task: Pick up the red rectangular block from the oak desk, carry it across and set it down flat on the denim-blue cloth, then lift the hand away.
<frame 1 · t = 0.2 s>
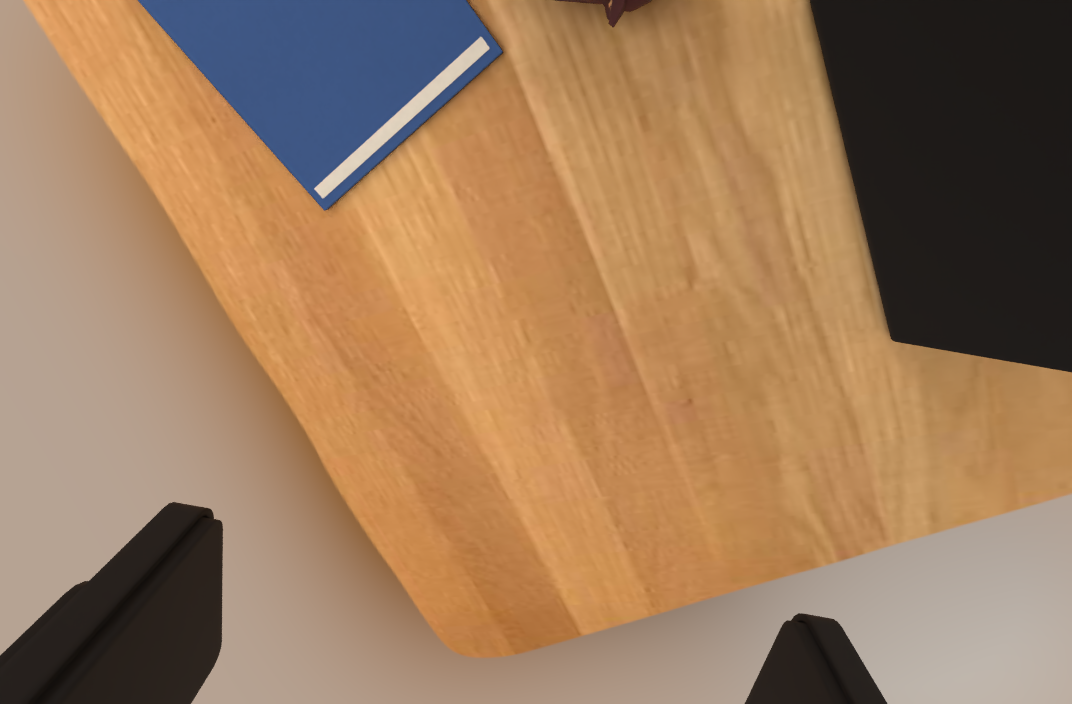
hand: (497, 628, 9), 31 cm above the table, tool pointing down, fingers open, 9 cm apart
device stand: (1031, 104, 35), on the table
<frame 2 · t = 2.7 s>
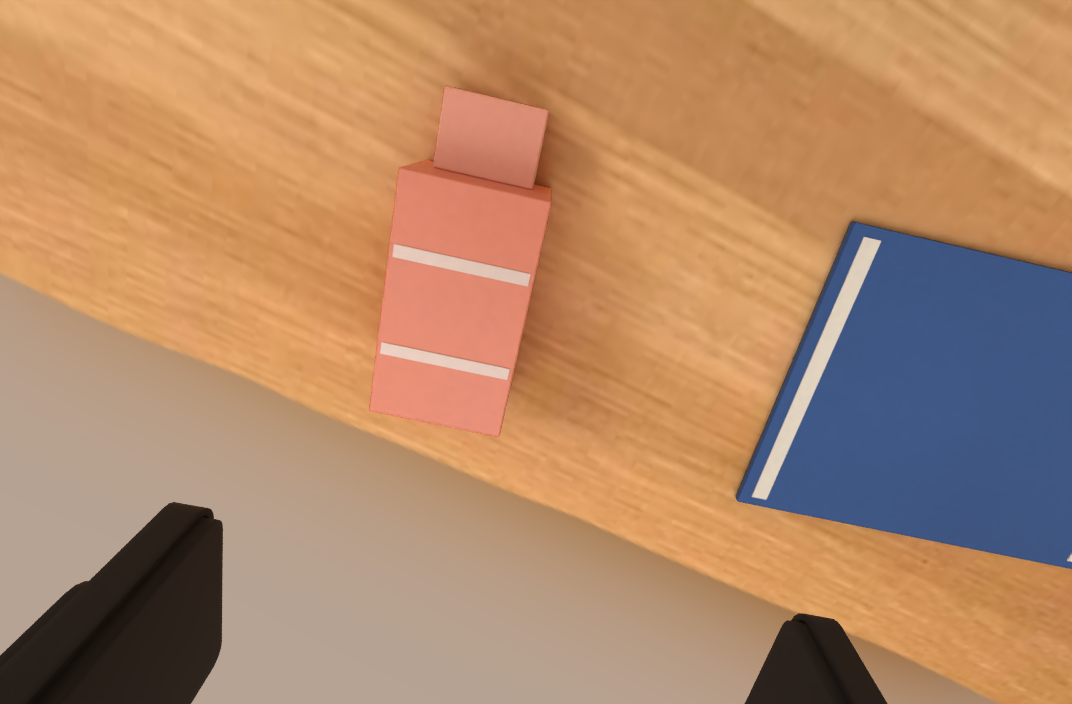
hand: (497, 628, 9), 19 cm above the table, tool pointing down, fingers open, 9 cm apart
red rectangular block: (469, 282, 27), on the table
cloth: (977, 413, 29), on the table
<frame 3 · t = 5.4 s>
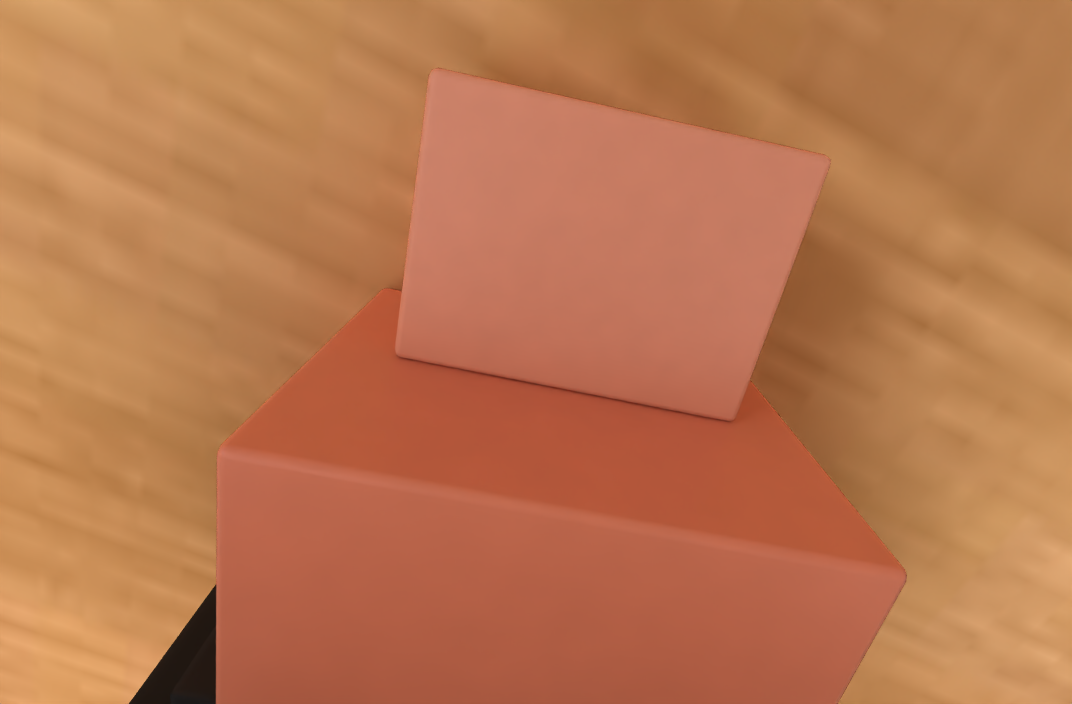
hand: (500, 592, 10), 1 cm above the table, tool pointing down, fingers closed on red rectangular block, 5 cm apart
red rectangular block: (503, 570, 11), on the table, touching gripper
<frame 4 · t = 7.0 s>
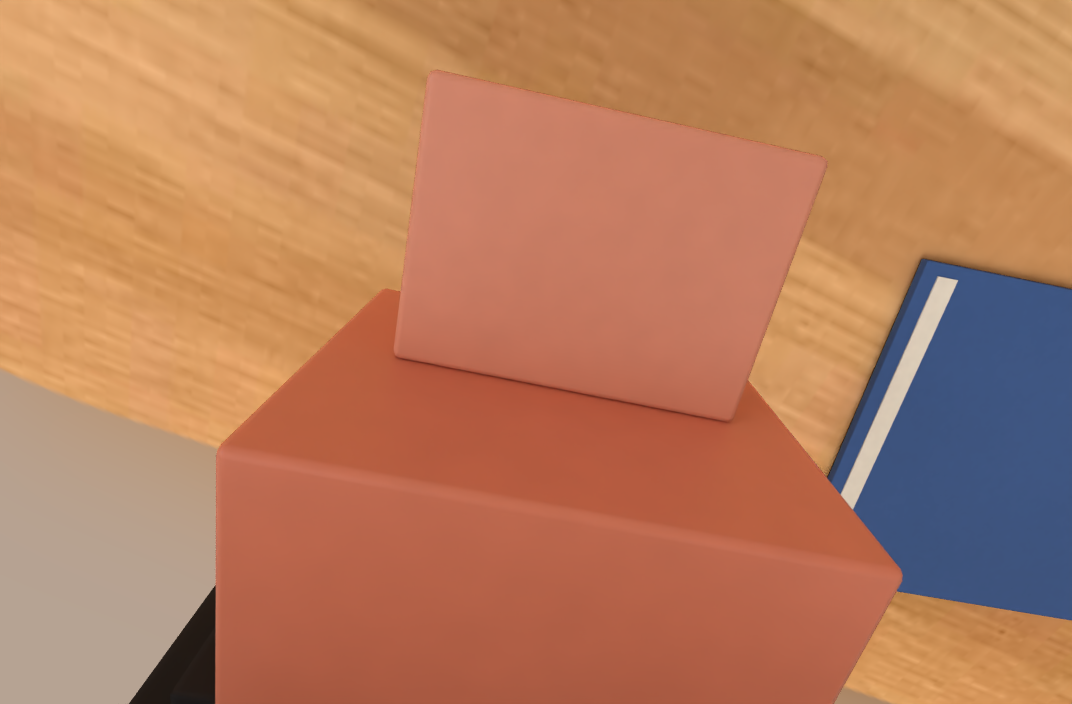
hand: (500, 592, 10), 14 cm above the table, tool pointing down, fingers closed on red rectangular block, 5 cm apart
red rectangular block: (502, 570, 11), point 13 cm above the table, touching gripper
cloth: (1064, 469, 25), on the table
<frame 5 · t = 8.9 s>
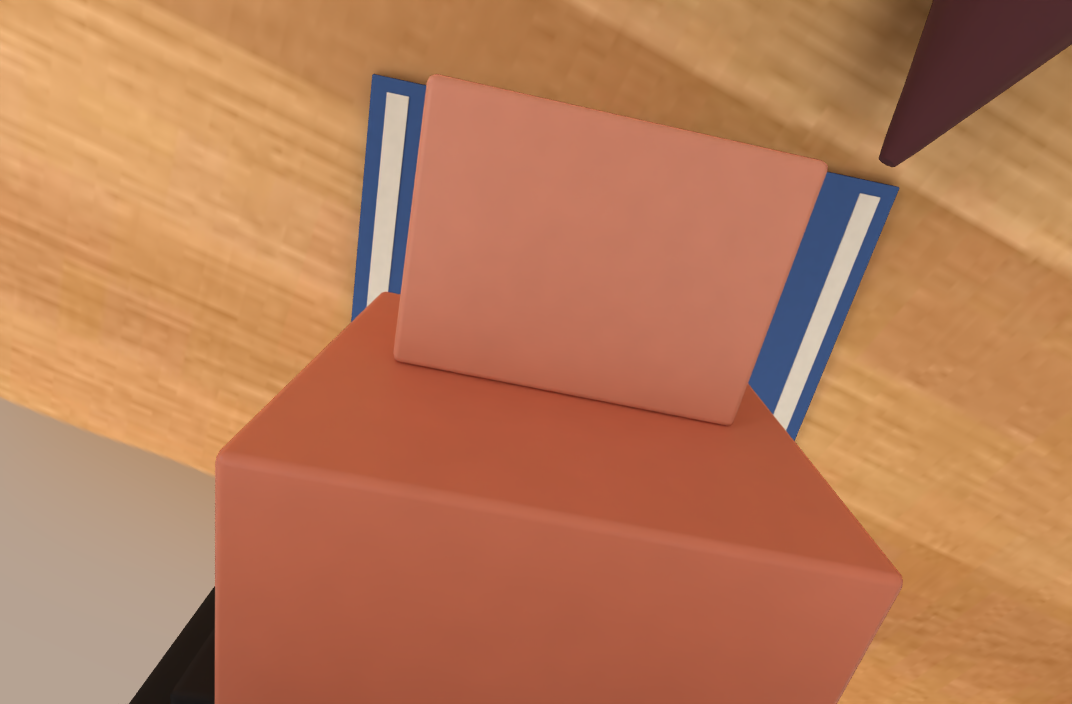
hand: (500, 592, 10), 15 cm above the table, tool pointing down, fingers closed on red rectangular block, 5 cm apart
red rectangular block: (502, 573, 11), point 15 cm above the table, touching gripper
cloth: (594, 319, 24), on the table
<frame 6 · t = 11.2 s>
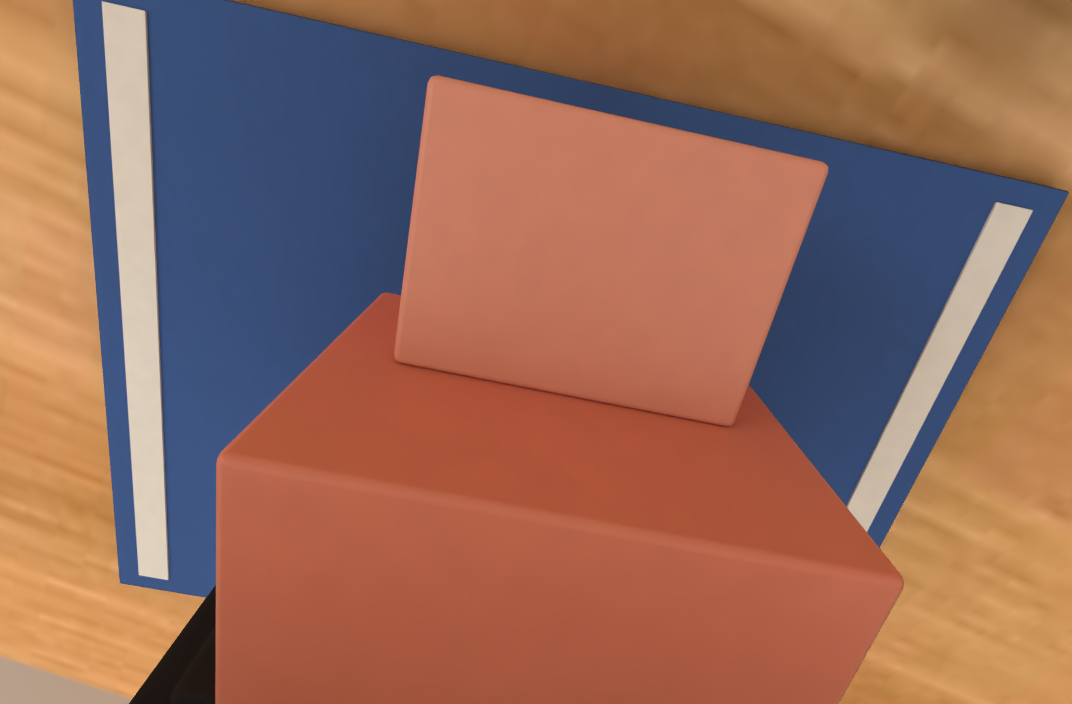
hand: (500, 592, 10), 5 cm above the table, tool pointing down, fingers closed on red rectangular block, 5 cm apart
red rectangular block: (502, 573, 11), point 4 cm above the table, touching gripper
cloth: (522, 410, 14), on the table
when the fingers open (1 cm above the table, at t = 12.7 s): red rectangular block stays where it is, resting on cloth.
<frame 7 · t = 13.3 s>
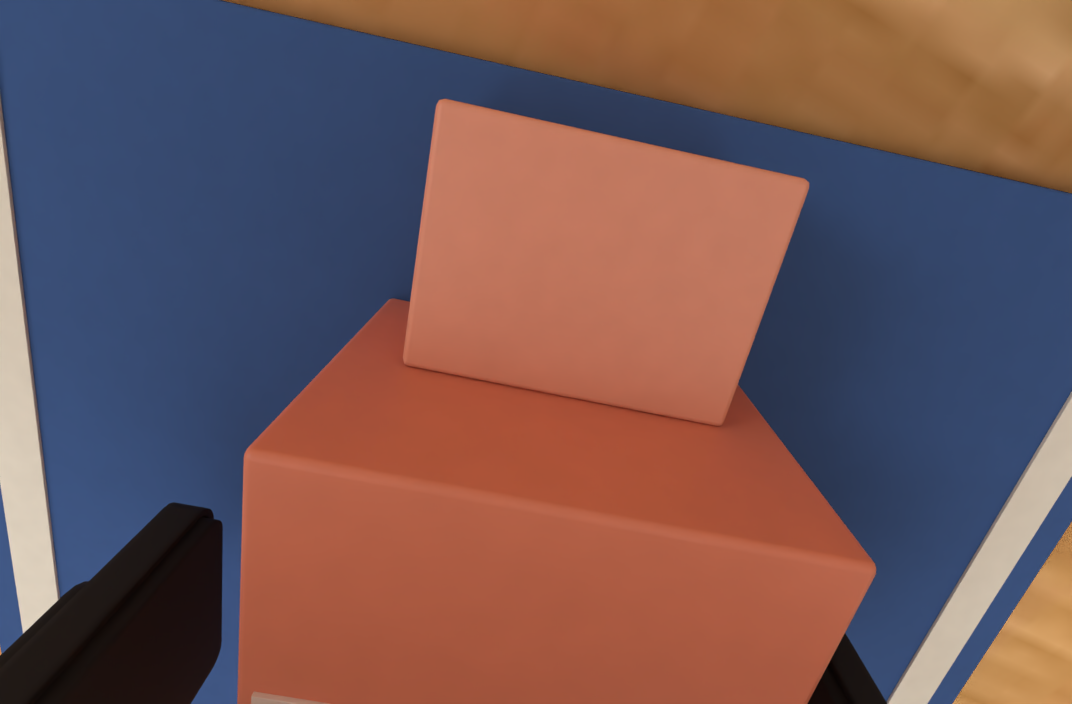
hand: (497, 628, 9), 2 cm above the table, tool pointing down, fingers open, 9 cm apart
red rectangular block: (504, 569, 11), resting on cloth
cloth: (515, 508, 11), on the table
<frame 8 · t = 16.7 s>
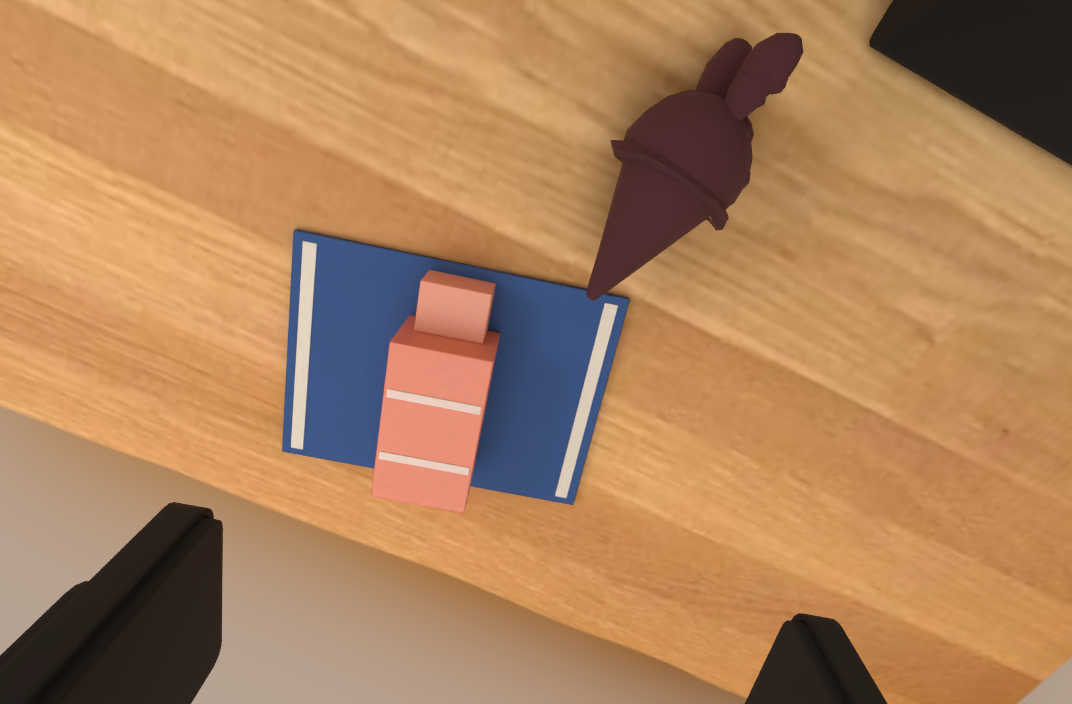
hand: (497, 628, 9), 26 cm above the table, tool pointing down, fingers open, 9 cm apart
red rectangular block: (443, 396, 37), resting on cloth
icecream: (662, 170, 32), on the table
cloth: (446, 377, 37), on the table
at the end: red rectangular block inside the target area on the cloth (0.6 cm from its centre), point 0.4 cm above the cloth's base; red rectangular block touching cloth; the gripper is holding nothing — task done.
